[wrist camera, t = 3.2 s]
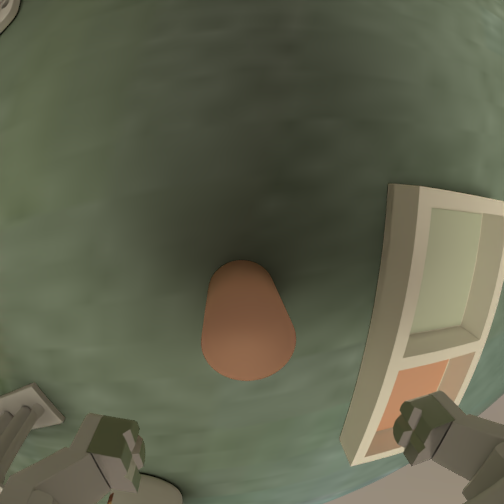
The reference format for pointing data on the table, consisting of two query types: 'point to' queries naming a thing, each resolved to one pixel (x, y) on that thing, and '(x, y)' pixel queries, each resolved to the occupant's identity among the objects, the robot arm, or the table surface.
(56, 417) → the test tube rack
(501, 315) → the table surface
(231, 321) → the brown egg
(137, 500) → the milk bottle
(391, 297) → the sorting tray
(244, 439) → the table surface
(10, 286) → the table surface
